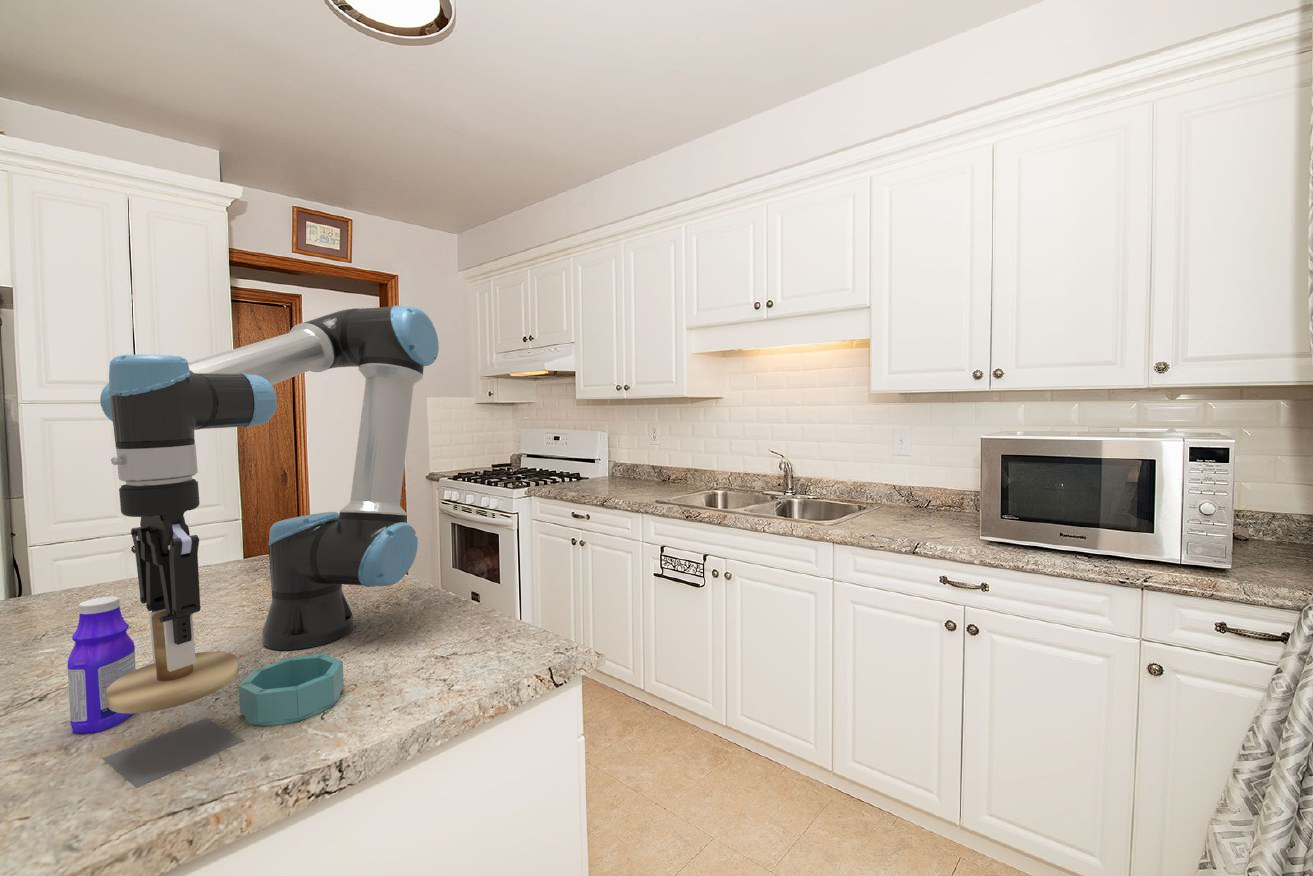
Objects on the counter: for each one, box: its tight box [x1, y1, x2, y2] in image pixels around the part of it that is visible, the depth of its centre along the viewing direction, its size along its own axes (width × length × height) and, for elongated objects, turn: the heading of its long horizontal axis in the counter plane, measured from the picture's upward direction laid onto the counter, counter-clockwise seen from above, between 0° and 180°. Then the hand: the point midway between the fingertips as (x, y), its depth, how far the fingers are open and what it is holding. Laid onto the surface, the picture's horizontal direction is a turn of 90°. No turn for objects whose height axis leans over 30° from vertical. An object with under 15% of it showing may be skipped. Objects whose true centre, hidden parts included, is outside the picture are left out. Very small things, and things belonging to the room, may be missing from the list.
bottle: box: [67, 596, 137, 734], centre depth 82 cm, size 7×6×17 cm
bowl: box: [238, 653, 345, 727], centre depth 86 cm, size 12×12×5 cm
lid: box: [106, 611, 240, 714], centre depth 75 cm, size 13×13×10 cm
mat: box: [102, 717, 245, 788], centre depth 75 cm, size 11×11×1 cm
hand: (174, 662), depth 75 cm, fingers closed on lid, 3 cm apart
